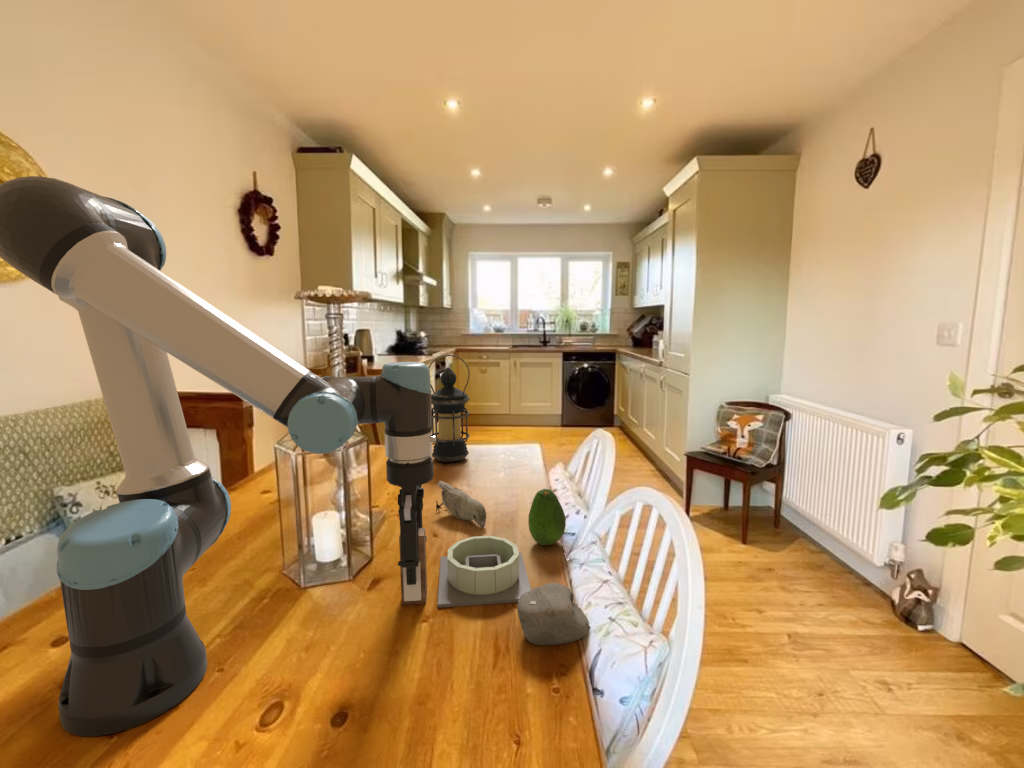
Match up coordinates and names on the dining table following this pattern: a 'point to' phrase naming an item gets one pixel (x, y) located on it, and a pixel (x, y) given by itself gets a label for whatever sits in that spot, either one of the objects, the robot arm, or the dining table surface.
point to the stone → (551, 616)
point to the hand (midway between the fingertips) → (414, 589)
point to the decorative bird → (462, 504)
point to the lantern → (449, 418)
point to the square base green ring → (482, 573)
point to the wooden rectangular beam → (422, 569)
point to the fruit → (546, 518)
